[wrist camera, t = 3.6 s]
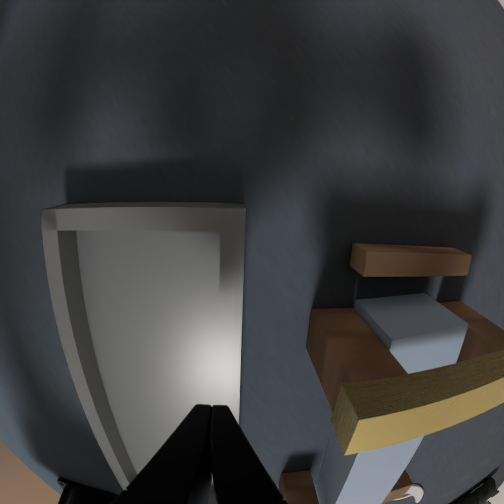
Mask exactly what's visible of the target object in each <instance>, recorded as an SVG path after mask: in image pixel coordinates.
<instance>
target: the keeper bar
mask: <svg viewBox="0 0 504 504" xmlns="http://www.w3.org/2000/svg"><path fill="white" fill-rule="evenodd" d="M503 402H504V349H502V350H499V351H496V352H493V353H490V354H487V355H483V356H480V357H477V358H473V359H469V360H466V361H462V362H458V363H455V364H451V365H446V366H442V367H438V368H434V369H429V370H424V371H420V372H415V373H409V374H404V375H399V376H393V377H387V378H380V379H374V380H366V381H359V382H350V383H341V386H340V390H339V394H338V397H337V401H336V404H335V408H334V411H333V414H332V418H331V422H332V424H333V427H334V430H335V432H336V435H337V437H338V440H339V443H340V445H341V448H342V451H343V453H344V456H345V455H350V454H356V453H361V452H366V451H370V450H375V449H379V448H383V447H387V446H391V445H395V444H398V443H402V442H405V441H409V440H412V439H415V438H419V437H422V436H425V435H428V434H431V433H434V432H436V431H439V430H442V429H445V428H447V427H450V426H453V425H455V424H458V423H460V422H462V421H465V420H467V419H470V418H472V417H474V416H476V415H479V414H481V413H483V412H485V411H487V410H489V409H491V408H493V407H495V406H497V405H499V404H501V403H503Z"/></svg>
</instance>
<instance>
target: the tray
mask: <svg viewBox="0 0 504 504" xmlns="http://www.w3.org/2000/svg"><path fill="white" fill-rule="evenodd" d="M41 224H42V237H43V247H44V256H45V263H46V271H47V277H48V283H49V289H50V295H51V300H52V305H53V310H54V315H55V319H56V323H57V328H58V332H59V336H60V339H61V343H62V347H63V350H64V354H65V357H66V361H67V364H68V367H69V370H70V373H71V376H72V379H73V382H74V385H75V388H76V391H77V394H78V396H79V399H80V402H81V404H82V407H83V409H84V412H85V414H86V417H87V419H88V422H89V424H90V426H91V429H92V431H93V433H94V435H95V437H96V440H97V442H98V444H99V446H100V448H101V450H102V452H103V454H104V456H105V458H106V460H107V462H108V464H109V466H110V468H111V469H112V471H113V473H114V475H115V477H116V478H117V480H118V482H119V484H120V485H121V487H122V489H123V490H126V487H127V486H128V485H129V484H130V483H131V481H132V480H133V479H134V478H135V477H136V476H137V475H138V473H139V472H140V471H141V470H142V469H143V468H144V466H145V465H146V464H147V463H148V462H149V461H150V459H151V458H152V457H153V456H154V455H155V453H156V452H157V451H158V450H159V449H160V448H161V446H162V445H163V444H164V443H165V441H166V440H167V439H168V438H169V437H170V435H171V434H172V433H173V432H174V431H175V429H176V428H177V427H178V426H179V424H180V423H181V422H182V421H183V419H184V418H185V417H186V416H187V414H188V413H189V412H190V411H191V409H192V408H193V407H194V406H195V405H196V404H209V405H211V406H213V405H227V406H228V407H229V408H230V410H231V411H232V413H233V415H234V417H235V419H236V420H237V422H238V424H239V400H240V366H241V334H242V305H243V276H244V250H245V224H246V207H245V204H244V203H212V202H110V203H77V204H64V205H59V206H55V207H50V208H46V209H42V210H41ZM126 491H127V490H126ZM208 504H216V498H215V491H214V484H213V476H212V482H211V489H210V495H209V501H208Z"/></svg>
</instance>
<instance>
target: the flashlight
mask: <svg viewBox="0 0 504 504" xmlns="http://www.w3.org/2000/svg"><path fill="white" fill-rule="evenodd" d="M497 493H499V491H498V490H497V489H496V486H495V480H494V479H493V478H492V477H489V478H488V479H487V480H486V481H485V482H484V483H483V485H482V486H481V487H479V488H477V489H476V490H475V491H474V492H472V493H469V494H468V495H467V496H465V497H464V498H462V499H461V500H459V501H458V502H456V503H455V504H484V503H485V501H486V500H488V499H489V498H490V497H493V496H495V495H496V494H497Z"/></svg>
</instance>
